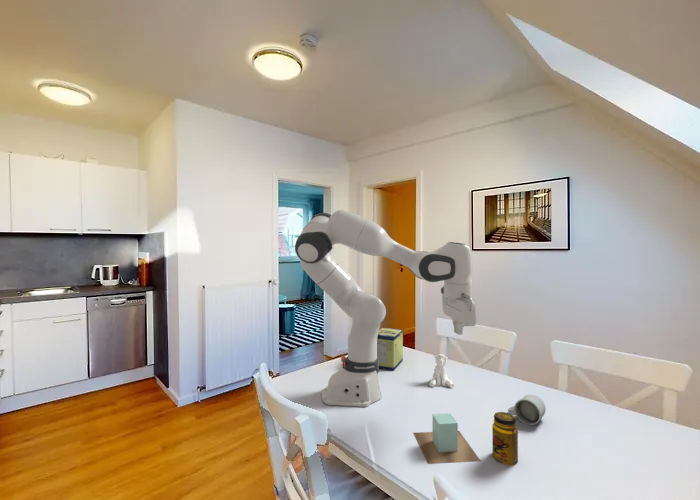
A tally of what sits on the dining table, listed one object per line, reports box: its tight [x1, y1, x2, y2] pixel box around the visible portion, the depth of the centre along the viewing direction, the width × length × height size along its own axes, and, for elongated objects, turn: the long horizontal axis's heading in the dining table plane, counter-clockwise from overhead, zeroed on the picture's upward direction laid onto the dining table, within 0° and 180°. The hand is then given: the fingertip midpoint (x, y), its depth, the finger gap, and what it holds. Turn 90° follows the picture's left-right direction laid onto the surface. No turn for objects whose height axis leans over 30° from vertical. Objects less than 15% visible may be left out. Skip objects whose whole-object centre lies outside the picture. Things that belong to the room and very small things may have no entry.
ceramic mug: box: [507, 394, 547, 426], centre depth 108 cm, size 11×8×8 cm
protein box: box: [377, 327, 404, 372], centre depth 158 cm, size 10×16×16 cm
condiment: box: [491, 411, 519, 466], centre depth 87 cm, size 7×8×12 cm
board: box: [413, 430, 482, 465], centre depth 91 cm, size 14×14×1 cm
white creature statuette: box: [428, 353, 455, 389], centre depth 135 cm, size 10×9×12 cm
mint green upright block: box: [432, 413, 459, 452], centre depth 91 cm, size 5×5×8 cm
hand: (458, 333), depth 109 cm, fingers closed
